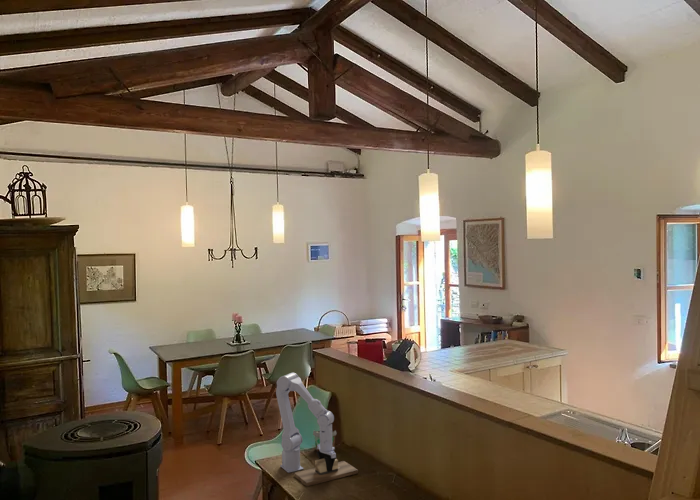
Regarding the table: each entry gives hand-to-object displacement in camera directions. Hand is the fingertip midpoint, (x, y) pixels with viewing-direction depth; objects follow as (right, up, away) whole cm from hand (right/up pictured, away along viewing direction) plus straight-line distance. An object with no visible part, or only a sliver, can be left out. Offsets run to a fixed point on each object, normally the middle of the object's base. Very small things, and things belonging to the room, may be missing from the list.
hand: (326, 469), depth 247 cm
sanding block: (0, -1, 0) cm, 1 cm away
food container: (-3, -3, +30) cm, 30 cm away
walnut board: (0, -2, 0) cm, 2 cm away
